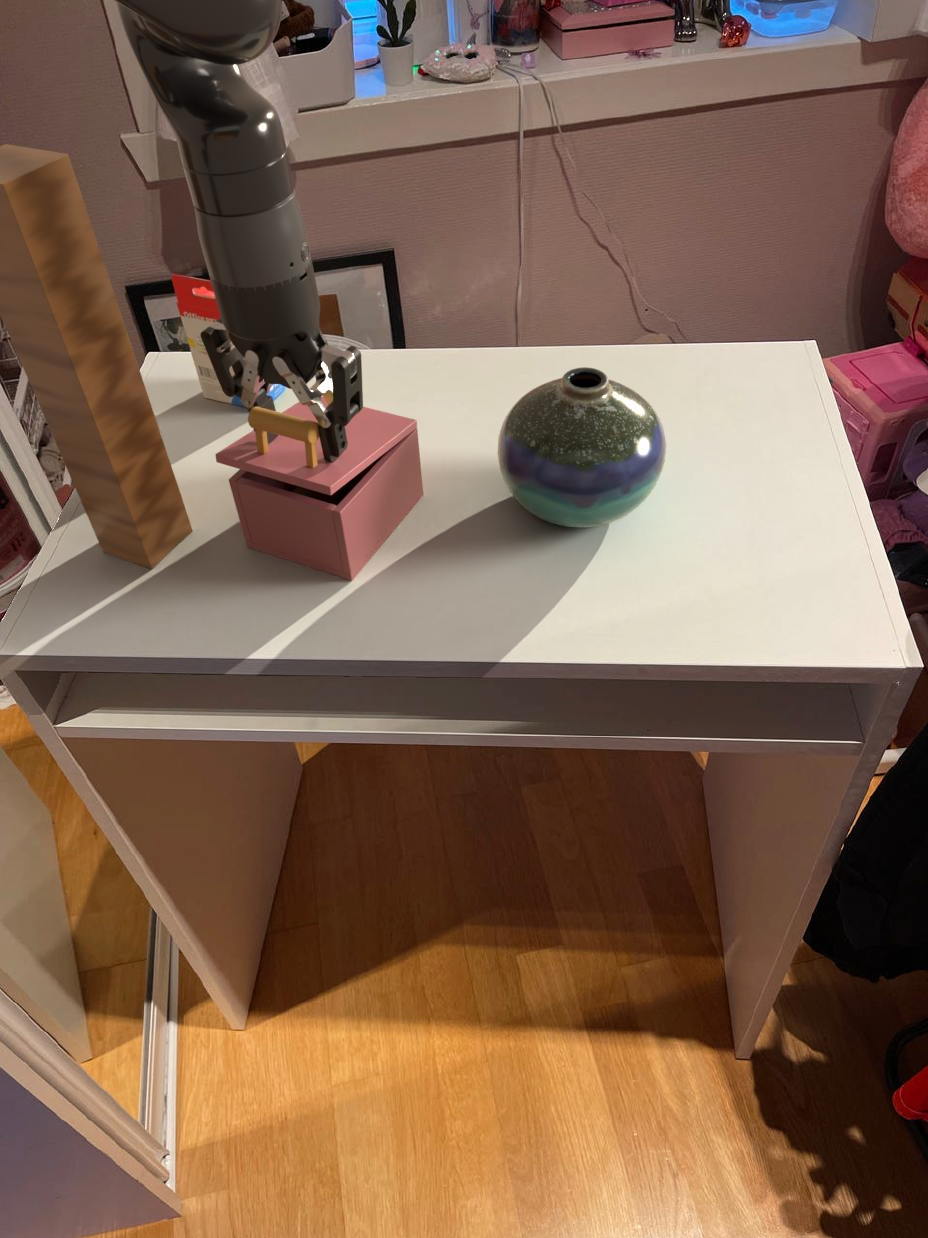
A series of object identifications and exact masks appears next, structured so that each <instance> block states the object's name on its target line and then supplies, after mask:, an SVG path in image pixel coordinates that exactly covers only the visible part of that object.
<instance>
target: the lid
mask: <svg viewBox="0 0 928 1238" xmlns="http://www.w3.org/2000/svg"><path fill="white" fill-rule="evenodd" d="M321 401H322V402H323V404H324V406H325V407H327V406H328V404H327V402H326V400H325V399H324V397H323V396H321ZM247 423H248V425H249V427H250V428H252V429H253V428H255V431H254V429H253V430H252V431H250V432H249V433H247V434H245V435H244V436H242V437H240V438H238V439H237V440H235V441H234V442H233V443H231V444H229V445H227V446H226V447H225V448H222V449H221V450H219V451H217V452H216V453H215V461H216V463H218V464H221V465H225V466H228V467H230V468H231V467H232V468H235V469H238V470H240V469H241V470H245V471H248V472H252V473H255V474H259V475H262V476H265V477H269V478H272V479H276V480H279V481H283V482H286V483H290V484H293V485H296V486H300V487H303V488H307V489H310V490H314V491H317V492H320V493H324V494H327V495H332V494H333V493H335V492H336V491H337V490H339V489H340V488H341V487H342V486H344V485H345V484H346V483H347V482H349V481H350V480H351V479H352V478H354V477H355V476H356V475H358V474H359V473H360V472H361V471H363V470H364V469H365V468H366V467H368V466H369V465H370V464H372V463H373V462H374V461H375V460H377V459H378V458H379V457H380V456H382V455H383V454H384V453H385V452H387V451H388V450H389V449H391V448H392V447H393V446H394V445H396V444H397V443H398V442H399V441H401V440H402V439H403V438H405V437H406V436H407V435H408V434H410V433H411V432H412V431H413V430H415V429H416V428H417V429H418V419H415V418H412V417H411V418H410V417H408V416H407V417H406V416H402V415H399V414H395V413H390V412H386V411H382V410H378V409H374V408H371V407H367V406H366V407H365V406H363V408H362V410H361V411H360V412H359V413H357V414H356V415H355V416H354V417H353V418H352V419H351V420H350V422H349V423H348V424H347V425H346V426H345V431H346V436H347V441H348V446H347V449H346V450H345V451H344V452H343V453H342V454H341V455H340V456H339V457H338V459H337V460H336V461H334V462H330V461H326V460H325V459H324V456H323V451H322V446H321V442H320V437H319V432H318V427H317V426H318V425H319V423H318V421H317V420H316V418H315V417H314V415H313V413H312V412H311V410H310V409H309V407H308V406H307V405H302V404H301V403H300V401H298V402H296V403H294V405H292V406H290V407H289V408H287V409H286V410H284V411H282V412H280V411H277V410H276V411H272V410H268V409H265V408H261V407H253V408H252V409H251V411H250V412H249V411H248V417H247ZM267 432H270V433H273V434H277V435H278V436H277V437H276V438H275V439H274V440H273V441H272V442H271V443H270V444H268V441H267Z"/></svg>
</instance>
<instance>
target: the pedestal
mask: <svg viewBox="0 0 928 1238" xmlns="http://www.w3.org/2000/svg"><path fill="white" fill-rule="evenodd" d="M101 252H102V251H101V249H100V247H99V243H98V241H97V237H96V234H95V231H94V228H93V226H92V222H91V220H90V216H89V213H88V210H87V207H86V204H85V201H84V198H83V195H82V192H81V189H80V185H79V183H78V180H77V177H76V174H75V170H74V168H73V164H72V162H71V159H70V156H69V154H68V153H66V152H65V153H64V152H59V151H51V150H46V149H40V148H33V147H27V146H20V145H14V144H7V143H5V144H3V145H1V146H0V318H1V320H2V322H3V324H4V327H5V330H6V331H7V334H8V336H9V338H10V340H11V344H12V345H13V348H14V350H15V352H16V354H17V356H18V359H19V362H20V364H21V366H22V368H23V371H24V373H25V375H26V377H27V380H28V382H29V385H30V387H31V389H32V391H33V394H34V396H35V398H36V401H37V403H38V406H39V408H40V410H41V412H42V414H43V416H44V417H43V418H44V420H45V421H46V425H47V426H48V428H49V430H50V433H51V435H52V438H53V440H54V442H55V444H56V447H57V449H58V452H59V454H60V456H61V458H62V461H63V463H64V465H65V468H66V470H67V472H68V475H69V477H70V479H71V482H72V484H73V486H74V489H75V490H76V493H77V495H78V497H79V500H80V503H81V504H82V508H83V509H84V511H85V514H86V516H87V518H88V521H89V523H90V526H91V528H92V530H93V533H94V534H95V537H96V539H97V542H98V544H99V546H100V548H101V550H102V551H101V552H103V553H105V554H108V555H110V556H114V557H116V558H119V559H122V560H125V561H128V562H131V563H133V564H136V565H139V566H141V567H145V568H148V569H150V570H153V569H154V568H156V566H158V564H160V562H162V561H163V560H164V559H165V558H166V557H167V556H168V555H169V554H170V553H171V552H173V550H174V549H175V548H176V547H178V546H179V545H180V544H181V543H182V542H183V541H185V539H186V538H188V536H189V535H190V534H191V533H193V531H194V529H193V527H192V524H191V521H190V518H189V515H188V511H187V508H186V506H185V502H184V500H183V497H182V494H181V491H180V488H179V484H178V481H177V479H176V475H175V473H174V470H173V465H172V463H171V462H170V461H171V460H170V458H169V455H168V452H167V449H166V446H165V442H164V439H163V436H162V434H161V430H160V428H159V424H158V421H157V419H156V415H155V412H154V410H153V407H152V403H151V399H150V397H149V393H148V390H147V388H146V386H145V383H144V379H143V376H142V373H141V370H140V368H139V363H138V361H137V358H136V355H135V352H134V349H133V346H132V343H131V340H130V337H129V334H128V331H127V328H126V324H125V322H124V318H123V316H122V313H121V309H120V307H119V304H118V301H117V298H116V295H115V291H114V289H113V286H112V281H111V280H110V276H109V273H108V270H107V267H106V264H105V262H104V258H103V256H102V253H101Z"/></svg>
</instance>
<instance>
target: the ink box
mask: <svg viewBox="0 0 928 1238" xmlns="http://www.w3.org/2000/svg"><path fill="white" fill-rule="evenodd" d="M171 282H172V286H173V289H174V293H175V297H176V306H177V309H178V313H179V316H180V320H181V322H182V327H183V329H184V333H185V336H186V340H187V343H188V347H189V350H190V353H191V357H192V361H193V365H194V367H195V370H196V374H197V377H198V381H199V385H200V386H201V387H200V388H201V391H202V394H203V397H204V398H206V399H208V400H209V399H210V400H213V401H218V402H221V403H226V404H230V405H235V406H239V407H243V408H247V407H246V406H244V404H243V403H242V401H241V398H239V397H237V396H235V395H234V396H233V397H228V396H227V395H225V394H224V392H223V390H222V388H221V385H220V383H219V381H218V378H217V376H216V373H215V371H214V368H213V366H212V363H211V361H210V358H209V356H208V354H207V351H206V349H205V346H204V344H203V341H202V339H201V335H200V334H201V332H202V331H204V330H205V329H206V328H207V327H209V326H210V325H211V324H212V323H214V322H215V321H216V320H218V319H219V318H220V317H221V316H220V312H219V309H218V305H217V301H216V298H215V294H214V291H213V287H212V284H211V280H210V279H203V278H197V277H194V276H193V277H192V276H186V275H181V274H175V273H172V274H171ZM243 359H244V357H243ZM230 373H231V376H232V377H233V376H234V375H235V374H234V371H233V369H232V366H231V367H230ZM285 391H286V387H285V386H283V385H281V384H271V387H270V391H269V393H267V395H268V396H272V397H273V401H274V402H275V401H276V400H277V399H279V397H281V395H282V394H284V393H285Z"/></svg>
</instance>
